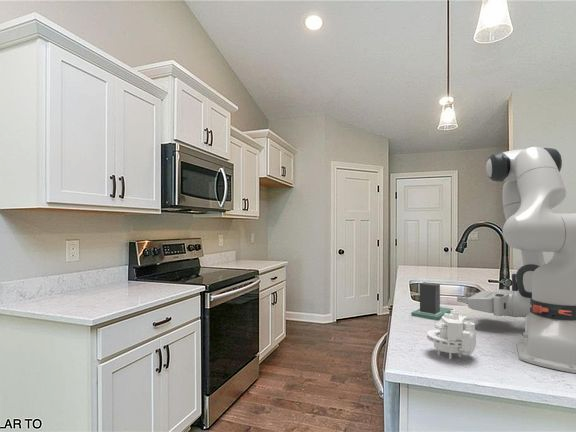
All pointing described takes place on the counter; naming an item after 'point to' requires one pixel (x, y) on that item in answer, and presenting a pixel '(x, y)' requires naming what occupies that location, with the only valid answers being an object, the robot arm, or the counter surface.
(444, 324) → the mechanical part
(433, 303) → the plug housing
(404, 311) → the counter surface
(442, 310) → the header board
